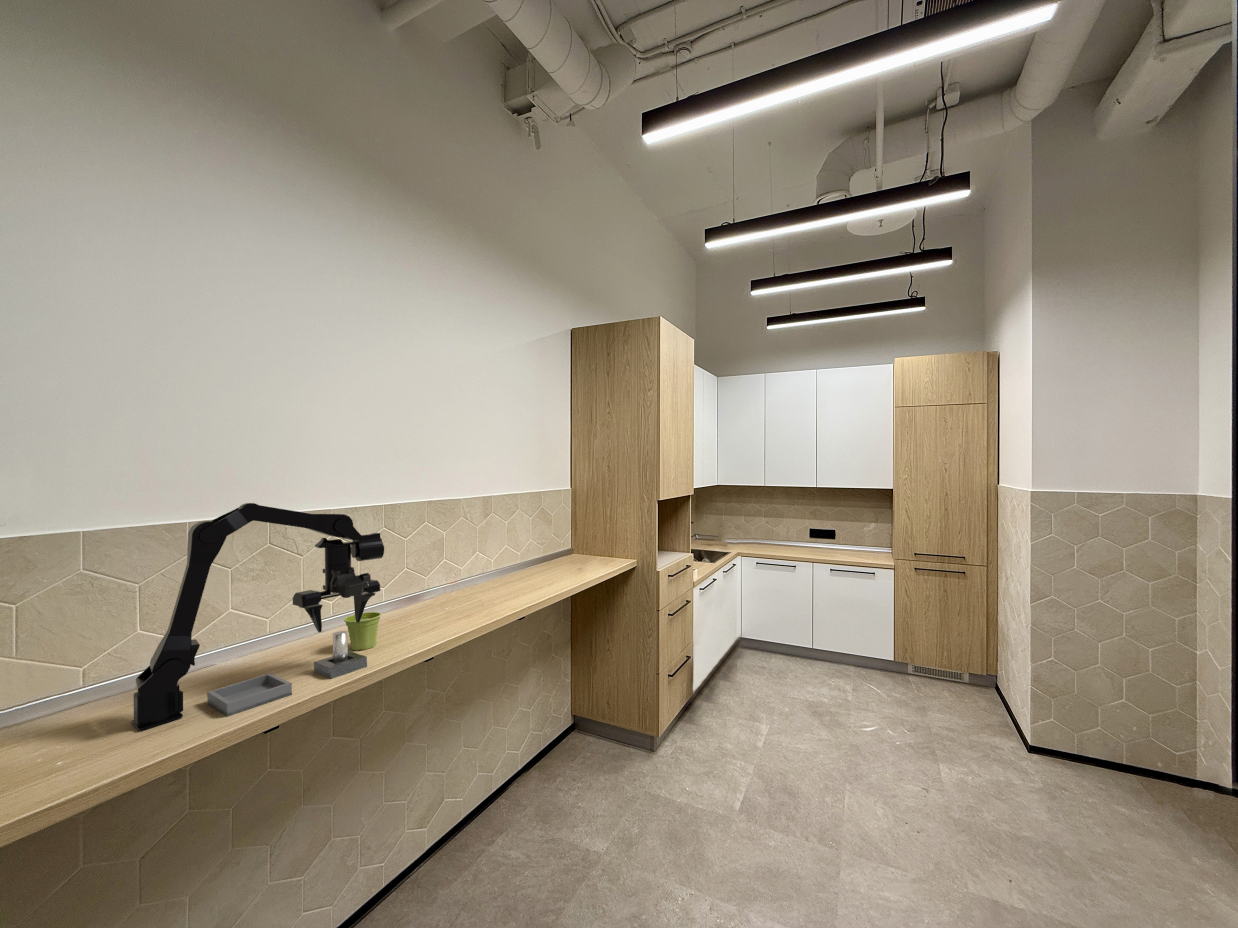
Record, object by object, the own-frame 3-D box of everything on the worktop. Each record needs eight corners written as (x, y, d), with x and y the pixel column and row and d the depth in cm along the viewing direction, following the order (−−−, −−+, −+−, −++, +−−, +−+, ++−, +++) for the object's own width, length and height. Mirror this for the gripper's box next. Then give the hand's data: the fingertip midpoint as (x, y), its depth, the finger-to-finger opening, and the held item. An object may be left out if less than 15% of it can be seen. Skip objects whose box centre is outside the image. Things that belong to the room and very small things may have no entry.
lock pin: (337, 672, 120) (336, 635, 120) (330, 670, 122) (330, 633, 122) (350, 668, 123) (349, 631, 123) (344, 666, 125) (343, 630, 125)
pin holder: (331, 678, 116) (330, 668, 116) (314, 671, 121) (313, 661, 121) (367, 666, 123) (366, 656, 124) (349, 660, 128) (349, 650, 128)
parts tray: (227, 716, 99) (227, 703, 99) (207, 703, 105) (207, 691, 105) (291, 694, 108) (291, 682, 108) (269, 683, 115) (269, 672, 115)
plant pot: (356, 655, 133) (356, 622, 133) (337, 650, 138) (337, 618, 138) (388, 644, 141) (388, 613, 141) (369, 640, 145) (368, 610, 146)
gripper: (312, 572, 111) (314, 642, 110) (391, 560, 126) (392, 621, 126) (291, 569, 117) (292, 635, 117) (368, 557, 133) (369, 616, 132)
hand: (339, 626), depth 123 cm, fingers open, 9 cm apart
